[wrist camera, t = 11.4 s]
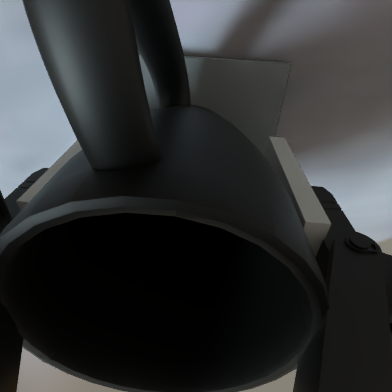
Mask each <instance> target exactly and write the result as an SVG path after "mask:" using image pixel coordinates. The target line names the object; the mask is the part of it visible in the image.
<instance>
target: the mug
mask: <svg viewBox="0 0 392 392" xmlns="http://www.w3.org/2000/svg"><path fill="white" fill-rule="evenodd" d="M23 4H24V7H25V11H26V14H27V17H28V20H29V23H30V26H31V29H32V32H33V35H34V38H35V41H36V44H37V46H38V49H39V52H40V54H41V57H42V60H43V62H44V65H45V67H46V70H47V72H48V75H49V77H50V80H51V82H52V84H53V87H54V89H55V91H56V94H57V96H58V98H59V100H60V103H61V105H62V107H63V109H64V111H65V114H66V116H67V118H68V120H69V123H70V125H71V127H72V129H73V131H74V133H75V136H76V138H77V140H78V142H79V144H80V146H81V148H82V150H81V151H79V152H78V153H77V154H76V155H74V156H73V157H72V158H70V160H69V161H68V162H67V163H66V164H65V165H64V166H63V167H62V168H61V169H60V170H59V171H58V172H57V173H56V174H55V175H54V176H53V177H52V178H51V179H50V180H49V181H48V182H47V183H46V184H45V185H44V187H43V188H42V189H41V190H40V191H39V192H38V193H37V194H36V195H35V196H34V197H33V198H32V199H31V200H30V202H29V203H28V204H27V205H26V206H25V207H24V208H23V209H22V210H21V211H20V212H19V213H18V214H17V215H16V217H15V218H14V219H13V220H12V221H11V222H10V223H9V224H8V225H7V226H6V227H5V228H4V229H3V231H2V233H1V234H0V302H1V303H2V304H3V305H4V306H5V307H6V308H7V310H8V311H9V313H10V315H11V317H12V318H13V320H14V322H15V323H16V325H17V328H18V331H19V334H20V335H21V337H22V339H23V346H22V347H23V348H24V349H26V350H27V351H29V352H30V353H32V354H33V355H35V356H36V357H38V358H39V359H41V360H42V361H43V362H45V363H48V364H50V365H52V366H54V367H55V368H58V369H59V370H61V371H63V372H65V373H67V374H70V375H73V376H75V377H78V378H81V379H84V380H86V381H89V382H91V383H95V384H99V385H102V386H106V387H110V388H113V389H117V390H122V391H128V392H238V391H243V390H248V389H252V388H255V387H258V386H260V385H263V384H266V383H269V382H272V381H274V380H277V379H279V378H280V377H282V376H284V375H286V374H288V373H289V372H291V371H293V370H295V369H296V368H297V366H298V362H299V360H300V358H301V357H302V355H303V353H304V351H305V349H306V347H307V345H308V344H309V342H310V340H311V338H312V336H313V335H314V333H315V331H316V330H317V328H318V326H319V325H320V323H321V321H322V319H323V317H324V315H325V313H326V311H327V309H329V299H328V294H327V290H326V286H325V282H324V278H323V276H322V273H321V271H320V268H319V266H318V263H317V261H316V258H315V256H314V253H313V251H312V248H311V246H310V243H309V241H308V238H307V236H306V233H305V231H304V228H303V226H302V223H301V221H300V219H299V216H298V214H297V212H296V209H295V207H294V205H293V202H292V200H291V197H290V195H289V194H288V192H287V191H286V189H285V187H284V186H283V184H282V183H281V181H280V179H279V178H278V176H277V175H276V173H275V171H274V170H273V168H272V167H271V165H270V164H269V162H268V160H267V159H266V157H265V156H264V155H263V154H262V152H261V151H260V150H259V149H258V148H257V147H256V145H254V144H253V143H252V142H251V141H250V140H249V139H248V138H247V137H246V136H245V135H244V134H243V133H242V132H241V131H240V130H239V129H237V128H236V127H235V126H234V125H233V124H231V123H230V122H228V121H227V120H225V119H223V118H222V117H221V116H220V115H218V114H216V113H214V112H213V111H211V110H209V109H207V108H203V107H200V106H197V105H191V99H190V88H189V80H188V73H187V68H186V63H185V58H184V54H183V50H182V46H181V42H180V38H179V34H178V30H177V26H176V23H175V19H174V15H173V11H172V8H171V4H170V1H169V0H23ZM138 51H139V53H140V55H141V57H142V59H143V60H144V62H145V64H146V67H147V69H148V71H149V73H150V76H151V79H152V82H153V85H154V89H155V94H156V100H157V107H158V109H154V110H151V111H150V109H149V104H148V100H147V95H146V90H145V85H144V80H143V75H142V70H141V64H140V59H139V54H138Z"/></svg>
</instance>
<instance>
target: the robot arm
mask: <svg viewBox="0 0 392 392" xmlns="http://www.w3.org/2000/svg"><path fill="white" fill-rule="evenodd" d="M81 150H82V148H81V146H80V144H79V142H78V140H77V141H76V142H75V143H74V144H73V145H72V146H71V147H70V148H69V149H68V150H67V151H66V152H65V153H64V154H63V155H62V156H61V157H60V158H59V159H58V160H57V161H56V162H55V163H54V164H53V165H52V166H51V167H50V168H42V169H40V170H38V171H36V172H34V173H32V174H31V175H30V176H29V177H28V178H27V179H26V180H25V181H24V182H23V183H21V184H20V185H19V186H18V188H16V189H15V190H14V191H13V192H12V193H11V194H10V195H8V196H7V197H6V198H5V199H4V198H3V196H2V193H1V191H0V234H1V233H2V231H3V229H4V228H5V227H6V226H7V225H8V224H9V223H10V222H11V221H12V220H13V219H14V218H15V217H16V215H17V214H18V213H19V212H20V211H21V210H22V209H23V208H24V207H25V206H26V205H27V204H28V203H29V202H30V200H31V199H32V198H33V197H34V196H35V195H36V194H37V193H38V192H39V191H40V190H41V189H42V188H43V187H44V185H45V184H46V183H47V182H48V181H49V180H50V179H51V178H52V177H53V176H54V175H55V174H56V173H57V172H58V171H59V170H60V169H61V168H62V167H63V166H64V165H65V164H66V163H67V162H68V161H69V160H70V158H72V157H73V156H74V155H76V154H77V153H78V152H79V151H81ZM265 157H266V159H267V160H268V162H269V164H270V165H271V167H272V168H273V170H274V171H275V173H276V175H277V176H278V178H279V179H280V181H281V183H282V184H283V186H284V187H285V189H286V191H287V192H288V194H289V195H290V197H291V200H292V202H293V205H294V207H295V209H296V212H297V214H298V216H299V219H300V221H301V223H302V226H303V228H304V231H305V233H306V236H307V238H308V241H309V243H310V246H311V248H312V251H313V253H314V256H315V258H316V261H317V263H318V266H319V268H320V271H321V273H322V276H323V278H324V282H325V286H326V290H327V294H328V299H329V309H327V311H326V313H325V315H324V317H323V319H322V321H321V323H320V325H319V326H318V328H317V330H316V331H315V333H314V335H313V336H312V338H311V340H310V342H309V344H308V345H307V347H306V349H305V351H304V353H303V355H302V357H301V358H300V360H299V362H298V366H297V372H296V377H295V383H294V389H293V392H392V256H391V255H388V254H385V253H382V251H381V248H380V246H379V245H378V244H377V243H376V242H375V241H374V240H372V239H371V238H369V237H368V236H366V235H363V234H361V233H359V232H356V231H355V230H354V228H353V227H352V225H351V224H350V222H349V220H348V219H347V217H346V216H345V214H344V212H343V211H341V208H340V206H339V205H338V204H337V201H336V200H335V198H334V197H333V195H332V194H331V193H330V192H328V191H327V190H326V189H325V188H323V187H317V186H311V185H310V184H309V182H308V180H307V178H306V176H305V174H304V173H303V171H302V169H301V167H300V165H299V163H298V162H297V160H296V158H295V156H294V154H293V152H292V150H291V149H290V147H289V145H288V143H287V141H286V139H285V138H284V137H271V136H269V139H268V144H267V148H266V153H265ZM22 346H23V339H22V337H21V335H20V334H19V331H18V328H17V325H16V323H15V322H14V320H13V318H12V317H11V315H10V313H9V311H8V310H7V308H6V307H5V306H4V305H3V304H2V303H1V302H0V392H16V390H17V383H18V375H19V368H20V361H21V353H22Z"/></svg>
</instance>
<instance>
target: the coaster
mask: <svg viewBox="0 0 392 392" xmlns="http://www.w3.org/2000/svg"><path fill="white" fill-rule="evenodd" d="M138 54H139V59H140V64H141V70H142V75H143V80H144V85H145V90H146V95H147V100H148V104H149V109H150V111H151V110H154V109H158V107H157V100H156V94H155V89H154V85H153V82H152V79H151V76H150V73H149V71H148V69H147V67H146V64H145V62H144V60H143V59H142V57H141V55H140V53H138ZM184 58H185V63H186V68H187V73H188V80H189V88H190V99H191V105H197V106H200V107H203V108H207V109H209V110H211V111H213V112H214V113H216V114H218V115H220V116H221V117H222V118H223V119H225V120H227V121H228V122H230V123H231V124H233V125H234V126H235V127H236V128H237V129H239V130H240V131H241V132H242V133H243V134H244V135H245V136H246V137H247V138H248V139H249V140H250V141H251V142H252V143H253V144H254V145H256V147H257V148H258V149H259V150H260V151H261V152H262V154H263V155H264V156H265V153H266V148H267V144H268V139H269V136H271V137H275V133H276V129H277V124H278V120H279V115H280V111H281V107H282V102H283V98H284V93H285V89H286V85H287V80H288V76H289V71H290V67H291V64H289V63H288V62H273V61H258V60H243V59H228V58H212V57H197V56H184Z"/></svg>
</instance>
